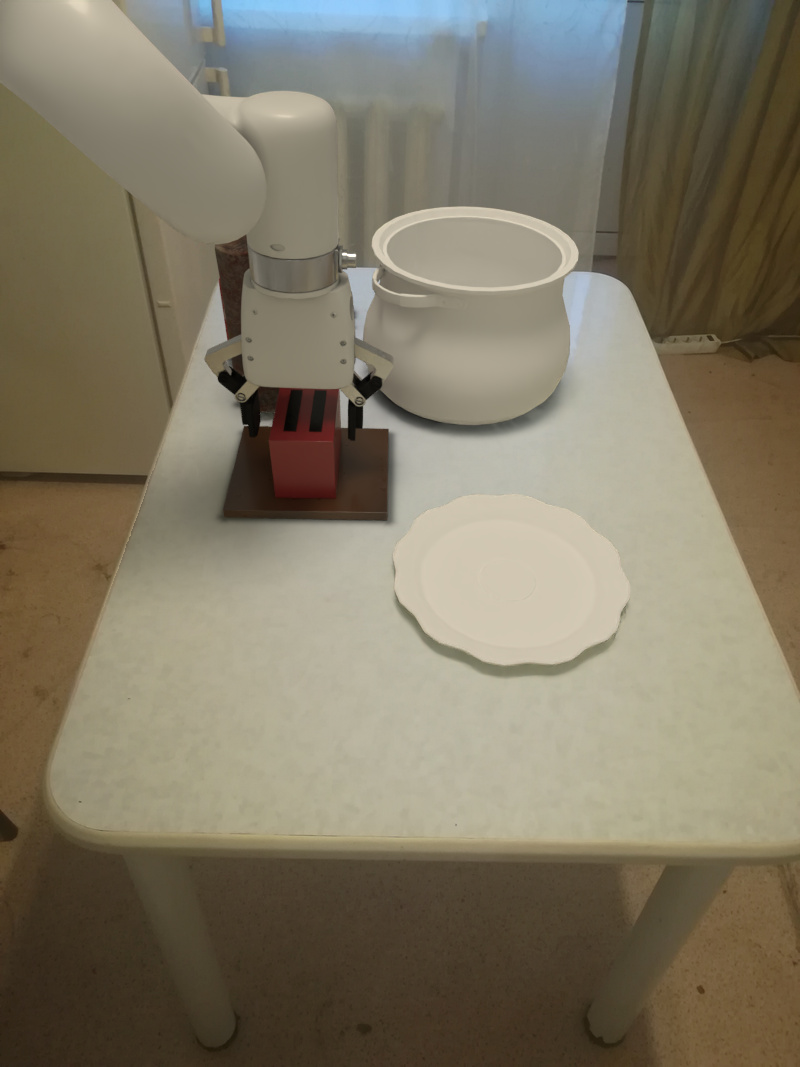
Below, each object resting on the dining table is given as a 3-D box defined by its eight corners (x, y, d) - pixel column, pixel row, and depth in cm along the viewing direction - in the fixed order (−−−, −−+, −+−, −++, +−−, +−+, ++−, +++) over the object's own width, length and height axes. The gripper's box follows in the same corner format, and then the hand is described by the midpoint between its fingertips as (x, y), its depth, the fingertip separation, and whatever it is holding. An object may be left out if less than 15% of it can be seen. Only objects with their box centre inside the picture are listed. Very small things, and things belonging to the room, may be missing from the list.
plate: (451, 481, 78) (452, 469, 77) (649, 550, 72) (654, 537, 70) (350, 616, 65) (349, 603, 64) (583, 716, 58) (587, 704, 57)
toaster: (342, 431, 83) (340, 375, 78) (335, 498, 74) (333, 441, 70) (287, 430, 83) (282, 374, 78) (275, 497, 74) (268, 439, 69)
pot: (451, 467, 80) (464, 322, 68) (320, 370, 94) (312, 235, 82) (606, 388, 92) (639, 253, 81) (469, 312, 106) (481, 187, 94)
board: (223, 517, 73) (222, 510, 73) (245, 433, 84) (243, 425, 83) (387, 520, 74) (387, 512, 73) (388, 435, 84) (388, 428, 83)
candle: (273, 429, 84) (253, 254, 70) (223, 408, 87) (195, 236, 73) (314, 398, 89) (303, 228, 75) (266, 379, 92) (247, 212, 78)
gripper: (397, 249, 66) (391, 412, 78) (199, 241, 65) (222, 407, 77) (397, 286, 61) (390, 456, 72) (181, 278, 60) (209, 451, 72)
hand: (303, 431), depth 75 cm, fingers open, 9 cm apart
